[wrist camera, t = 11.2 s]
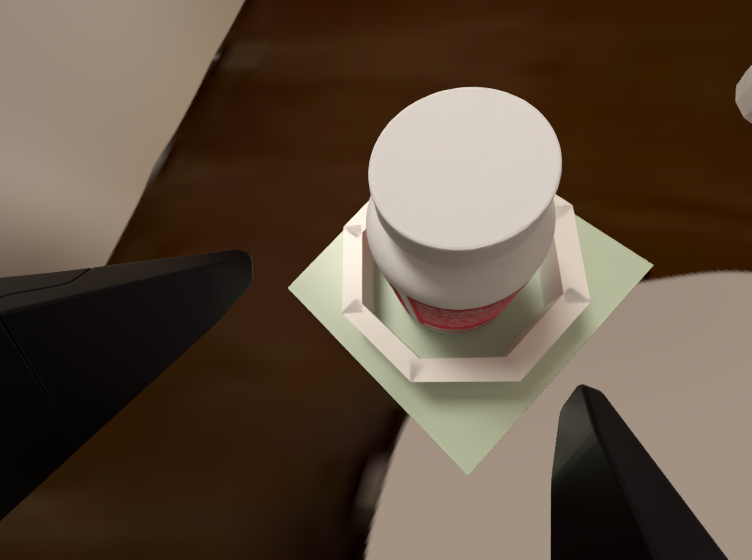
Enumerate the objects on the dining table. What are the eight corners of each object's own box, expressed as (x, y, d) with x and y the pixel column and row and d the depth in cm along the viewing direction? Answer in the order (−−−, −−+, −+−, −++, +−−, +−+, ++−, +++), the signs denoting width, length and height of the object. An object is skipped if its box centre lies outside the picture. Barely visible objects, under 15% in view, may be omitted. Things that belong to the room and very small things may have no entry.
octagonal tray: (467, 472, 17) (472, 498, 13) (292, 290, 21) (262, 274, 18) (646, 268, 17) (695, 243, 14) (441, 135, 22) (441, 91, 18)
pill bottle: (534, 273, 18) (661, 133, 7) (460, 359, 17) (483, 342, 7) (443, 209, 20) (442, 27, 9) (374, 286, 19) (293, 185, 9)
